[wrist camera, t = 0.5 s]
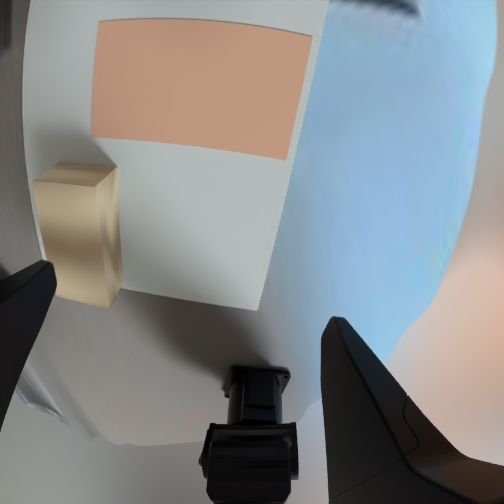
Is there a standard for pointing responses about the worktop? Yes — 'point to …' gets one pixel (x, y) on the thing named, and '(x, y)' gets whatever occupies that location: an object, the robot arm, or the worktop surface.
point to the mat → (177, 127)
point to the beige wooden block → (81, 230)
